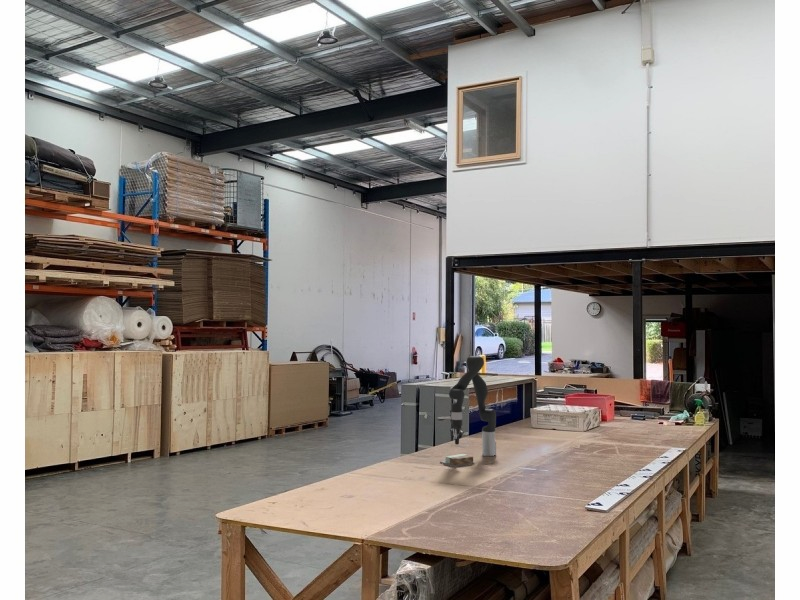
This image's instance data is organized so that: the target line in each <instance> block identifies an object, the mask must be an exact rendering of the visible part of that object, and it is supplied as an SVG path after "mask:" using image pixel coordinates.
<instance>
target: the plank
mask: <svg viewBox="0 0 800 600" xmlns="http://www.w3.org/2000/svg"><path fill="white" fill-rule="evenodd" d="M468 455H469V454H465V453H460V454H459V453H458V454H453V455H446V456H445V461H446V463H449V464H450V458H452V457H460V456H468Z"/></svg>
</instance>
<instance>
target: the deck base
mask: <svg viewBox="0 0 800 600" xmlns="http://www.w3.org/2000/svg"><path fill="white" fill-rule="evenodd" d="M442 463H443V464H442ZM439 464H442V465H445V464H446V465H445V466H448V465H449V467H452V468H454V467H455V466H456V467H463V466H469V465H475V462H474V461H473V463H467V464H459V465H452V464H449V463H446V460H440V461H439ZM456 467H455V468H456Z"/></svg>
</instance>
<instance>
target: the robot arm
mask: <svg viewBox="0 0 800 600" xmlns="http://www.w3.org/2000/svg"><path fill="white" fill-rule="evenodd" d="M484 364H485V360H484V358H483V357H482V356H479V355H478V356H477V355H470V356H468V357H467V359H466V367H467V369H468V371H467V372H466V373H464V374H463V375H461V377H460V378H459V379H458V381H457V383H456V384H455V385H453V387H451V388H450V390H449V393H448V396H449V398H450V399H451V400H456V402H453V403H452V404H451V414H450V415H451V417H450V420H451V421H450V424H451V426H452V428H450V430H449V432H450V433H451V436H452V438H454V445H460V444H459V443H460V439H461V438H462V437H463V435H464V433H465V432H464V431H462V429H463V428H462V426H463V403H464V399H465V392H464V391H465V390H466V389H467V388H468V386H469V385H470V383H471V381H472V384H473V385H472V386H473V389H474V394H475V397H476V402H477V405H478V414H479V418H480V420H481V421H483V422H486V423H487V425H484V426H482V428H481V436H482V438H481V442H482V444H481V445H482V447H481V449H482V451H481V455H482V456H483V457H484V456H485V457H494V455H495V456H496V455H497V442H496V428H497V412H496V410H495V409H494V408H487V407H486V400H487V397H488V394H489V389H488V385H487V383H486V381H485V380H484V379H483V377H482V376H481V375H480V374H479V372H480V371H481V370H482V368H483V367H484Z"/></svg>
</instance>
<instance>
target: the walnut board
mask: <svg viewBox="0 0 800 600" xmlns="http://www.w3.org/2000/svg"><path fill="white" fill-rule="evenodd" d="M467 455H468V456H460V457H452V458H450V464H452V465H459V464H467V463H473V462H474V456H473V455H469V454H467Z"/></svg>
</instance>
